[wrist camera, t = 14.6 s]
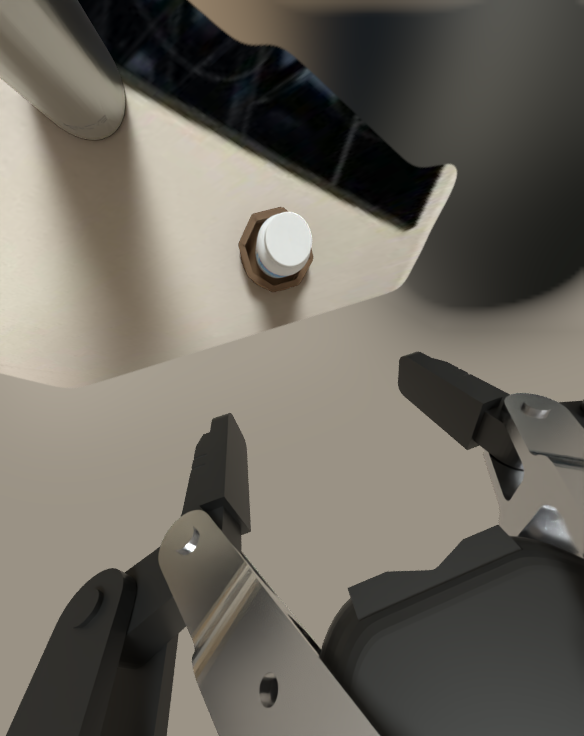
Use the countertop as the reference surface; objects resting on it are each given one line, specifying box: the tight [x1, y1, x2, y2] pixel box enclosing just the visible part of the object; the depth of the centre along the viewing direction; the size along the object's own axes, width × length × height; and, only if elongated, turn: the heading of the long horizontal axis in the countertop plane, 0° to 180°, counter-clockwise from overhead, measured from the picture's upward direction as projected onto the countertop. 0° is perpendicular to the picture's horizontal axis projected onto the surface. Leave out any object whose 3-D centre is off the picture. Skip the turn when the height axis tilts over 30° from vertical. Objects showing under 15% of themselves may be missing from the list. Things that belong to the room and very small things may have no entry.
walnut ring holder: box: [238, 207, 313, 292], centre depth 30 cm, size 10×10×3 cm
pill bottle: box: [255, 212, 312, 278], centre depth 25 cm, size 6×6×11 cm
